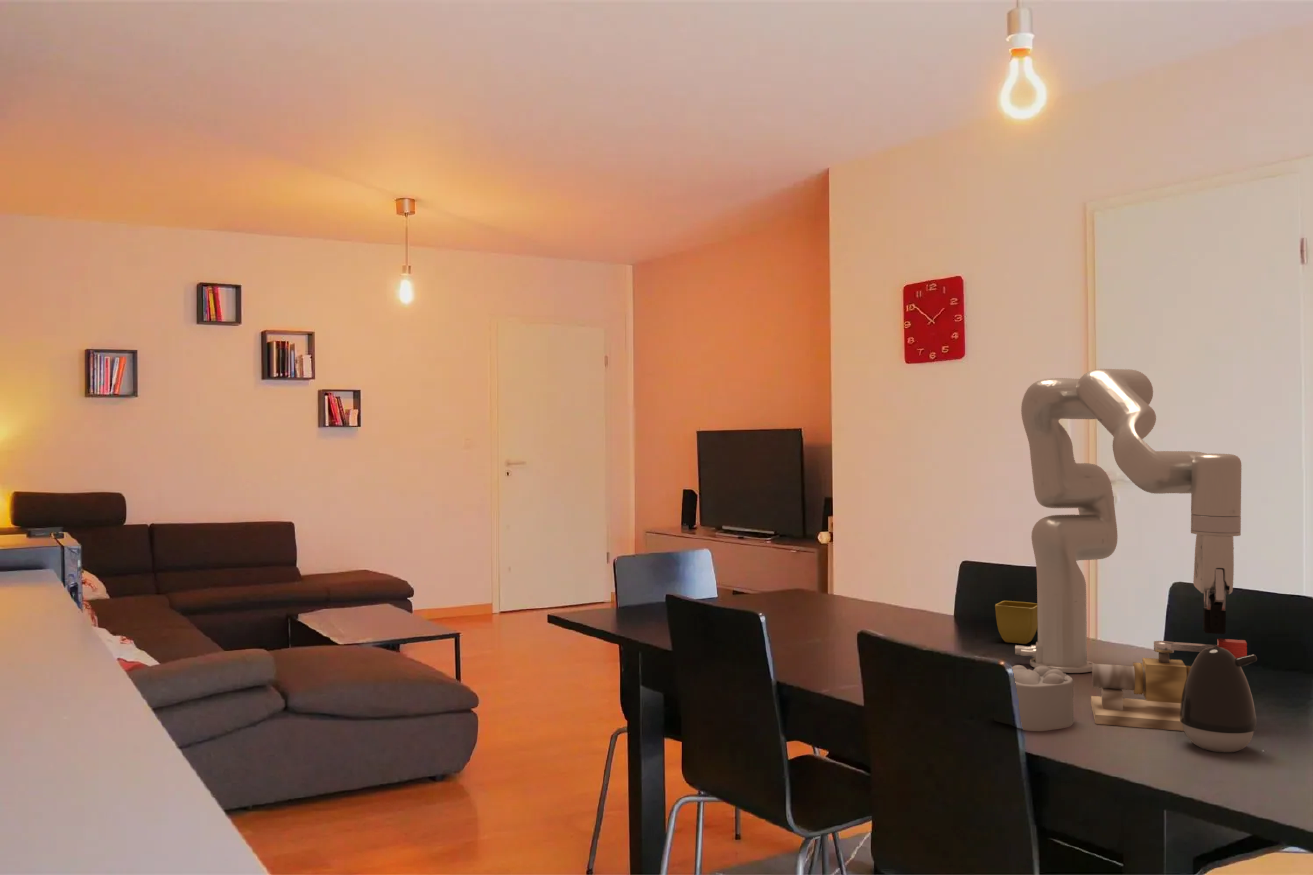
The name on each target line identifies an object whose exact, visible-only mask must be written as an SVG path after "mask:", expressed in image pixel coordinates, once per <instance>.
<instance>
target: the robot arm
mask: <svg viewBox="0 0 1313 875" xmlns="http://www.w3.org/2000/svg"><path fill="white" fill-rule="evenodd" d="M1152 384H1153V383H1152V382H1151V380H1150V378H1148V376H1147V375H1146V374H1144V373H1143V372H1141V371H1139V370H1137V369H1127V368H1125V369H1123V368H1098V369H1091V370H1090V371H1087V372H1086V373H1084V374H1083V375H1082V376H1081V377H1080V378H1071V377H1070V378H1069V377H1068V378H1067V377H1055V378H1054V377H1052V378H1051V377H1050V378H1043V379H1040V380H1037V381H1035V382H1033V383H1031V384H1030V385H1029V387H1027V389H1026V390H1025V393H1024V394H1023V397H1022V401H1021V405H1020V406H1021V409H1020V411H1021V412H1020V413H1021V419H1022V424H1023V427H1024V428H1023V429H1024V431H1025V433H1026V438H1027V441H1028V446H1029V454H1030V455H1029V456H1030V457H1029V458H1030V465H1031V474H1032V482H1033V491H1034V496H1035V499H1036V501H1037V502H1038V504H1039V505H1040V506H1043V507H1044V508H1048V509H1078V514H1053V515H1052V514H1051V515H1047V516H1044V517H1042V518H1041V519H1038V521H1037V522H1036V523H1035V524H1034V526H1033V527H1032V531H1031V545H1032V548H1033V549H1032V550H1033V553H1034V560H1035V567H1036V568H1035V570H1036V589H1037V590H1036V592H1037V593H1036V594H1037V595H1036V596H1037V597H1036V600H1037V620H1038V628H1037V641H1036V642H1035V644H1031V645H1030V646H1026V645H1019V644H1018V645H1017V644H1015V645H1014V654H1015V655H1017V656H1019V655H1020V656H1023V657H1027V656H1028V657H1029V656H1030V657H1031V658H1030V660H1029V665H1030V666H1031V667H1033V669H1035V668H1036V667H1038V666H1045V667H1048V668H1050V669H1051V670H1052V669H1059V670H1061V671H1062V672H1063V673H1064V674H1083V673H1092V664H1095V662H1093V661H1092V660H1088V648H1087V647H1088V643H1087V642H1088V641H1087V640H1088V639H1087V638H1088V637H1087V636H1088V633H1087V632H1088V631H1087V630H1088V629H1087V618H1088V617H1087V583H1086V577H1085V575H1084V574H1083V571H1082V570H1081V568H1080V567H1079V565H1078V561H1092V560H1093V561H1095V560H1096V561H1097V560H1104V559H1107V558H1109V557H1111V555H1113V553H1115V550H1117V549H1116V548H1117V547H1118V546H1117V545H1118V525H1117V516H1116V508H1115V498H1114V493H1113V492H1114V491H1113V485H1112V482H1111V480H1110V477H1109V475H1108V474H1107V472H1106V471H1105V469H1103V468H1102V467H1101V466H1099V465H1097V464H1094V463H1089V462H1088V463H1087V462H1084V463H1083V462H1082V463H1079V462H1076V460H1075V455H1074V449H1073V442H1072V439H1071V437H1070V435H1069V433H1068V431H1067V430H1066V429H1065V427H1064V426H1063V425H1062V424H1061V423H1060V420H1097V421H1099V423H1100V424H1101V425H1102V426H1103V427H1104V428H1105V429H1106V430H1107V432H1109V433H1110V434H1111V435H1112V437H1113V439H1112V451H1113V452H1112V453H1113V456H1114V460H1115V463H1116V465H1117V467H1118V468H1119V469H1120V471H1122V473H1123V474H1124V475H1125V476H1126V477H1127V478H1128V479H1129V481H1131V483H1133V484H1134V485H1135V486H1137V488H1139V489H1140V490H1142V491H1144V492H1146V493H1150V494H1153V495H1154V494H1155V495H1156V494H1157V495H1158V494H1164V495H1165V494H1190V495H1191V496H1190V498H1191V499H1190V509H1191V510H1190V534H1192V535H1193V534H1194V535H1196V536H1195V545H1194V564H1193V565H1194V566H1193V586H1194V587H1195V589H1197V590H1198V591H1199V592H1200V594H1203V611H1202V614H1203V615H1202V616H1203V618H1202V619H1203V620H1202V622H1203V623H1202V630H1203V632H1204V633H1206V634H1214V635H1217V634H1218V635H1225V634H1226V632H1227V631H1226V630H1227V628H1226V627H1227V625H1226V624H1227V623H1226V622H1227V620H1226V619H1227V610H1226V603H1227V602H1226V600H1227V599H1226V596H1227V595H1230V594H1232V593H1233V591H1234V590H1233V589H1234V575H1235V574H1234V572H1235V571H1234V570H1235V568H1234V566H1235V562H1234V561H1235V560H1234V559H1235V558H1234V554H1235V552H1234V549H1235V547H1234V537H1240V536H1241V530H1242V529H1241V528H1242V526H1241V525H1242V524H1241V522H1242V460H1241V458H1240V457H1239V456H1238V455H1235V454H1232V453H1231V454H1230V453H1206V452H1201V451H1192V450H1191V451H1189V450H1188V451H1182V450H1181V451H1180V450H1178V451H1177V450H1176V451H1175V450H1174V451H1173V450H1158V451H1157V450H1154V449H1153V448H1152V447H1151V446H1150V445H1148V443H1147V442H1145V440H1144V439H1145V438H1146V437H1147V436H1148V435H1149V434H1150V433H1151V432H1152V431H1153V429H1154V427H1155V425H1156V422H1157V415H1156V412H1155V410H1154V409H1153V407H1151V406H1150V404H1151V402H1152V400H1153V397H1154V388H1153V385H1152Z"/></svg>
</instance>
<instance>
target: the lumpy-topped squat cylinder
mask: <svg viewBox="0 0 1313 875" xmlns="http://www.w3.org/2000/svg"><path fill="white" fill-rule="evenodd" d="M1011 668H1012V669H1013V673H1014V678H1015V683H1016V688H1017V694H1018V698H1019V709H1020V716H1021V722H1022V727H1023V731H1028V732H1030V731H1031V732H1045V731H1053V730H1060V729H1064V728H1069V727H1071V726H1072V725H1073V724H1074V680H1073V678H1072V676H1070V675H1068V674H1067V673H1063V672H1062V671H1061V670H1059V669H1052V670H1051V669H1050V668H1048V667H1045V666H1038V667H1036V668H1033V670H1032V669H1031V668H1029V669H1027V668H1026V667H1025V666H1024V665H1020V664H1015V665H1013V666H1012V667H1011Z"/></svg>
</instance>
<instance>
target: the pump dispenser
mask: <svg viewBox="0 0 1313 875" xmlns="http://www.w3.org/2000/svg"><path fill="white" fill-rule="evenodd" d="M1257 661H1258V658H1257V656H1256V654H1254V653H1252V654H1249V655H1248V654H1247V656H1243V657H1239V658H1235V657H1234V655H1233V654H1232V653H1231V652H1229V651H1228V650H1226V649H1224V648H1221V647H1209V648H1206V649H1204V650H1202V651H1201V652H1199V653H1198V654H1197V656H1196V657H1195V659H1194V661H1193V663H1192V664H1191V665H1190V666H1191V668H1190V671H1189V673H1188V676H1187V678H1186V681H1185V685H1184V688H1183V693H1182V698H1181V705H1180V721H1181V723H1182V724H1183V728H1184V731H1183V732H1184V733H1185V735H1186V737H1187V738H1188V739H1189V740H1190V741H1191V742H1192V743H1193V744H1194V745H1196V746H1197V747H1199V748H1200V749H1203V750H1206V751H1210V752H1214V753H1215V752H1216V753H1228V754H1229V753H1234V752H1238V751H1241V750H1243V749H1245V748H1247V746H1248V745H1249V744H1250V742H1251V740H1252V738H1253V736H1254V733H1255V731H1256V730H1257V716H1256V709H1255V703H1254V699H1253V695H1252V692H1251V688H1250V685H1249V681H1248V679H1247V676H1246V675H1245V672H1244V670H1243V668H1242V667H1245V666H1248V665H1250V664H1253V663H1255V662H1257Z"/></svg>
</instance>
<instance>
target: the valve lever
mask: <svg viewBox="0 0 1313 875" xmlns="http://www.w3.org/2000/svg"><path fill="white" fill-rule="evenodd" d="M1247 646H1248V643H1247V641H1246V640H1245V639H1230V638H1217V644H1208V643H1207V644H1205V643H1194V642H1193V643H1191V642H1177V641H1175V642H1174V641H1167V640H1154V641H1153V651H1154V652H1156V653H1158V654H1159V653H1169V654H1173V653H1175V651H1179V652H1181V651H1182V652H1196V653H1198V652H1199V653H1200V652H1201V651H1202V650H1204V649H1206V648H1209V647H1221V648H1224V649H1226V650H1228V651H1229V652H1231V653H1232V654H1233V655H1234V657H1235V658H1239V657H1243V656H1248V654H1247V653H1248V647H1247Z"/></svg>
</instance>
